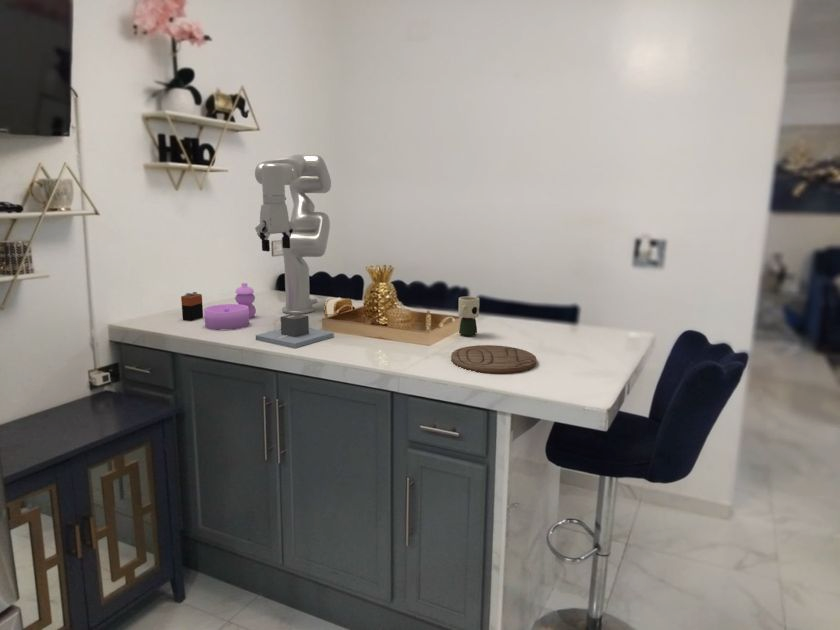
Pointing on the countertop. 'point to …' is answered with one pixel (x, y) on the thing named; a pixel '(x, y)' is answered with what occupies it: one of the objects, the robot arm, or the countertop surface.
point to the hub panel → (294, 338)
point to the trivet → (493, 359)
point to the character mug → (468, 315)
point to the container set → (232, 311)
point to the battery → (192, 306)
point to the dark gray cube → (294, 325)
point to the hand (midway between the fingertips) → (276, 249)
